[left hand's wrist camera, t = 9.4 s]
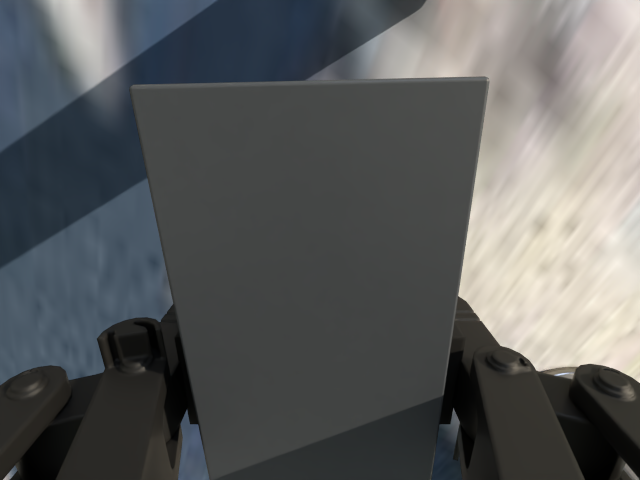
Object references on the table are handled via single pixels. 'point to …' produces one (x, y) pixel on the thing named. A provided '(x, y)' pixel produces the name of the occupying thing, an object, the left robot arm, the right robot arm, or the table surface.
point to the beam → (314, 264)
